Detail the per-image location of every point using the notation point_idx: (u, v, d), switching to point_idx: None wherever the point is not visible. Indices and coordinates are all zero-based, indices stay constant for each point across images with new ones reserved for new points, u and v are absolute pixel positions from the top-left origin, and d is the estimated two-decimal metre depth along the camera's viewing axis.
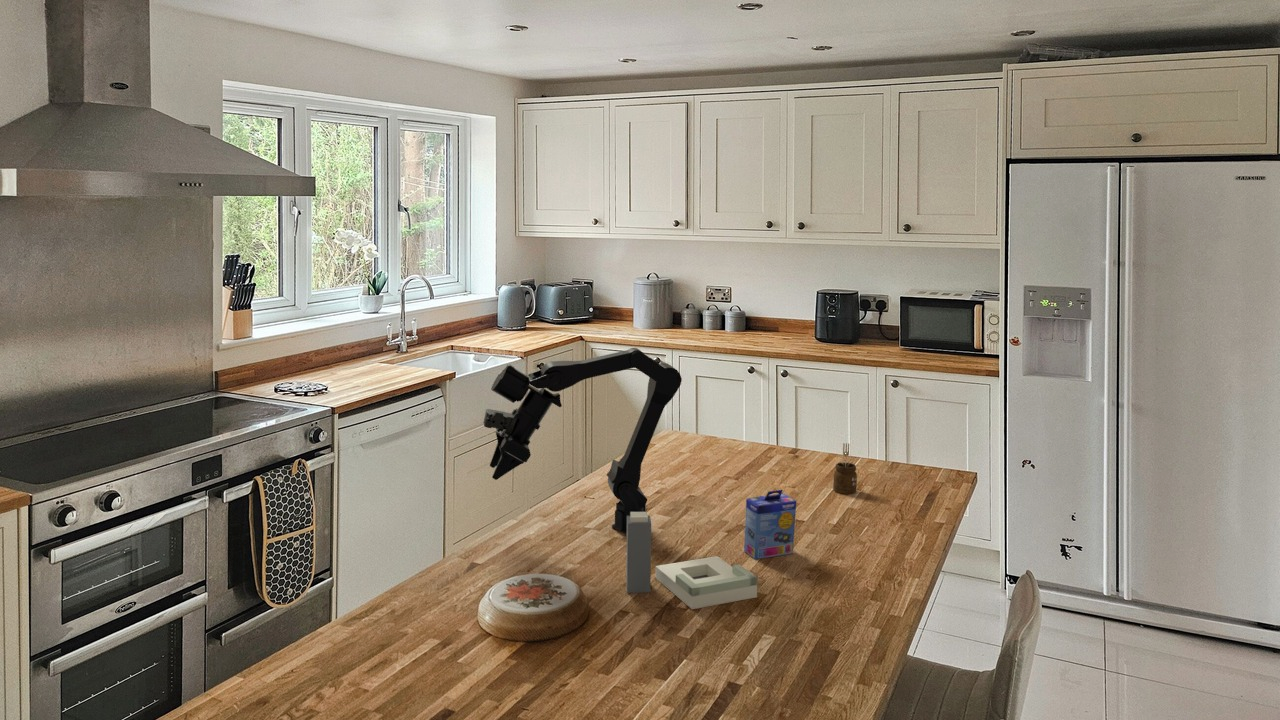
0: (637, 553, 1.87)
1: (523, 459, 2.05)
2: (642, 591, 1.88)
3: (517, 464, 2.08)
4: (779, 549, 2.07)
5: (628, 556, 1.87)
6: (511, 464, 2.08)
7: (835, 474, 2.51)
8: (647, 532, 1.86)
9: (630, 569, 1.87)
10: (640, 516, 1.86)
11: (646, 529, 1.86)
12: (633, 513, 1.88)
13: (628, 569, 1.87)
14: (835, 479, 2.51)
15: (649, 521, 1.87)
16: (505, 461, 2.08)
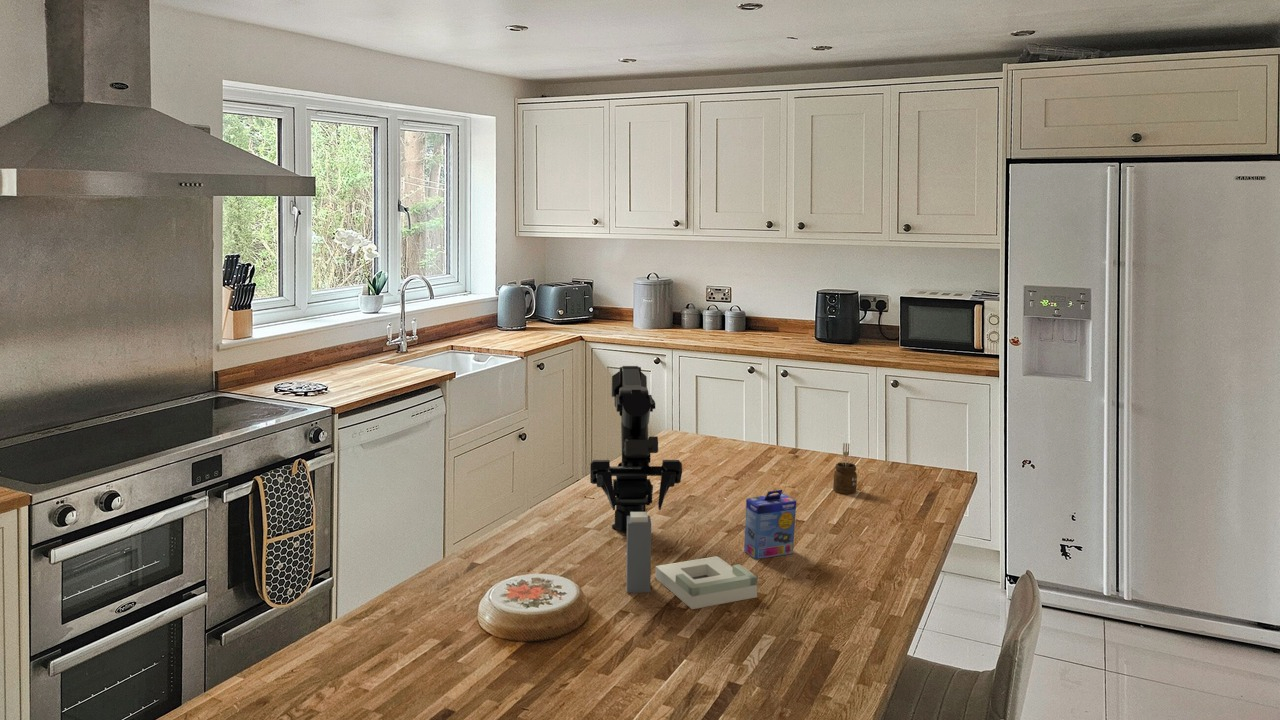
0: (637, 553, 1.87)
1: None
2: (642, 591, 1.88)
3: (667, 489, 2.00)
4: (779, 549, 2.07)
5: (628, 556, 1.87)
6: (665, 490, 1.99)
7: (835, 474, 2.51)
8: (647, 532, 1.86)
9: (630, 569, 1.87)
10: (640, 516, 1.86)
11: (646, 529, 1.86)
12: (633, 513, 1.88)
13: (628, 569, 1.87)
14: (835, 479, 2.51)
15: (649, 521, 1.87)
16: None
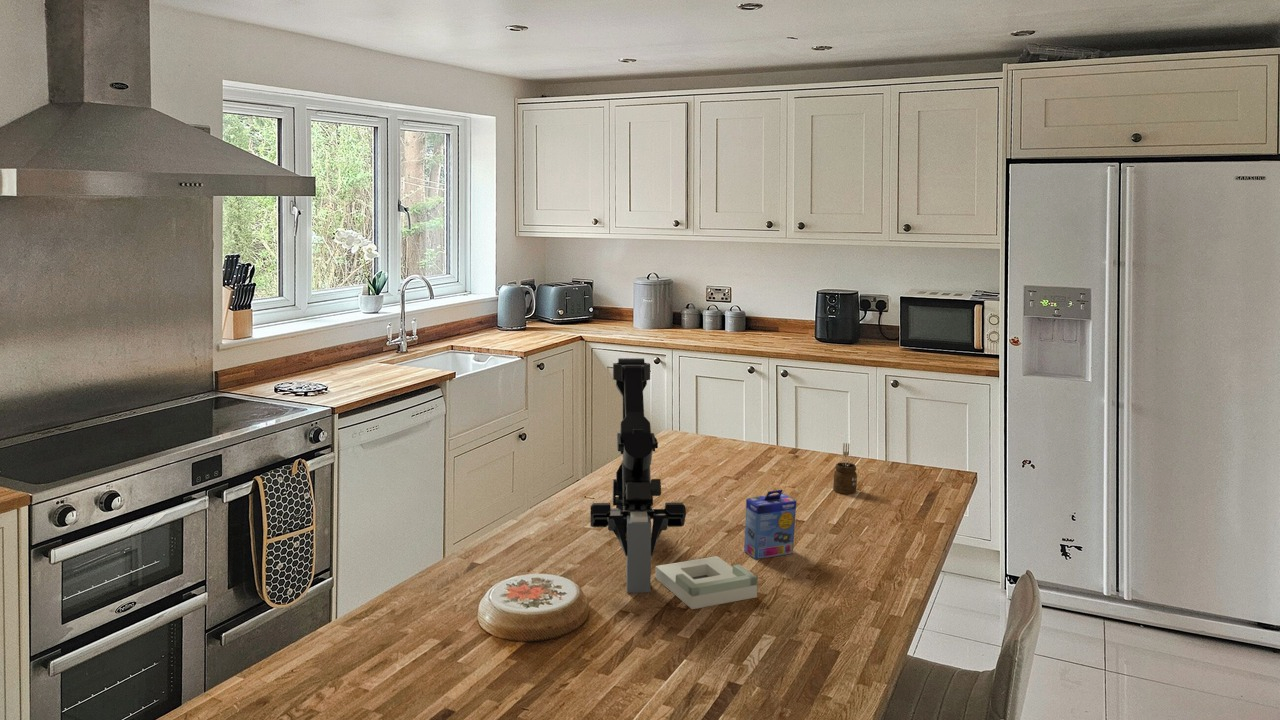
0: (637, 553, 1.87)
1: (683, 522, 1.94)
2: (642, 591, 1.88)
3: (659, 532, 1.93)
4: (779, 549, 2.07)
5: (628, 556, 1.87)
6: (657, 534, 1.91)
7: (835, 474, 2.51)
8: (647, 532, 1.86)
9: (630, 569, 1.87)
10: (640, 516, 1.86)
11: (646, 528, 1.86)
12: (633, 513, 1.88)
13: (628, 569, 1.87)
14: (835, 479, 2.51)
15: (649, 521, 1.87)
16: None
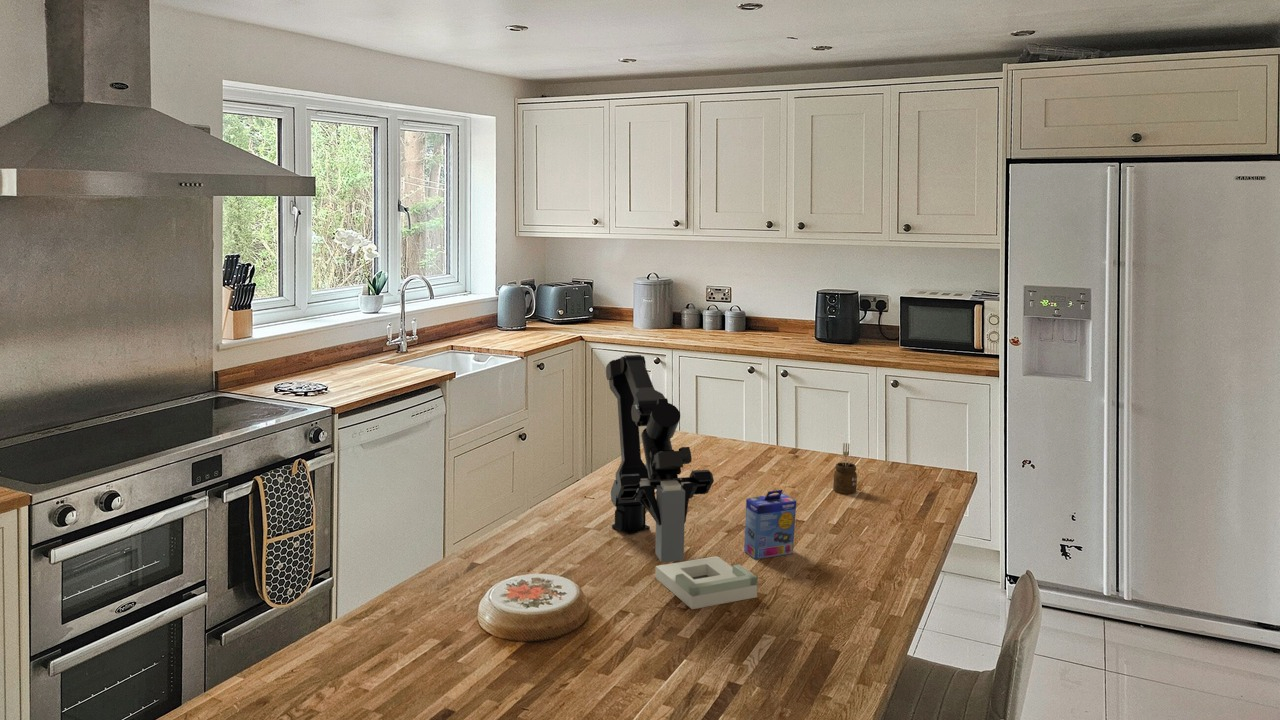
0: (671, 522, 1.86)
1: None
2: (676, 560, 1.88)
3: None
4: (779, 549, 2.07)
5: (662, 525, 1.86)
6: None
7: (835, 474, 2.51)
8: (681, 500, 1.86)
9: (664, 538, 1.86)
10: (673, 484, 1.86)
11: (680, 497, 1.86)
12: (664, 482, 1.87)
13: (662, 538, 1.86)
14: (835, 479, 2.51)
15: (682, 489, 1.87)
16: None
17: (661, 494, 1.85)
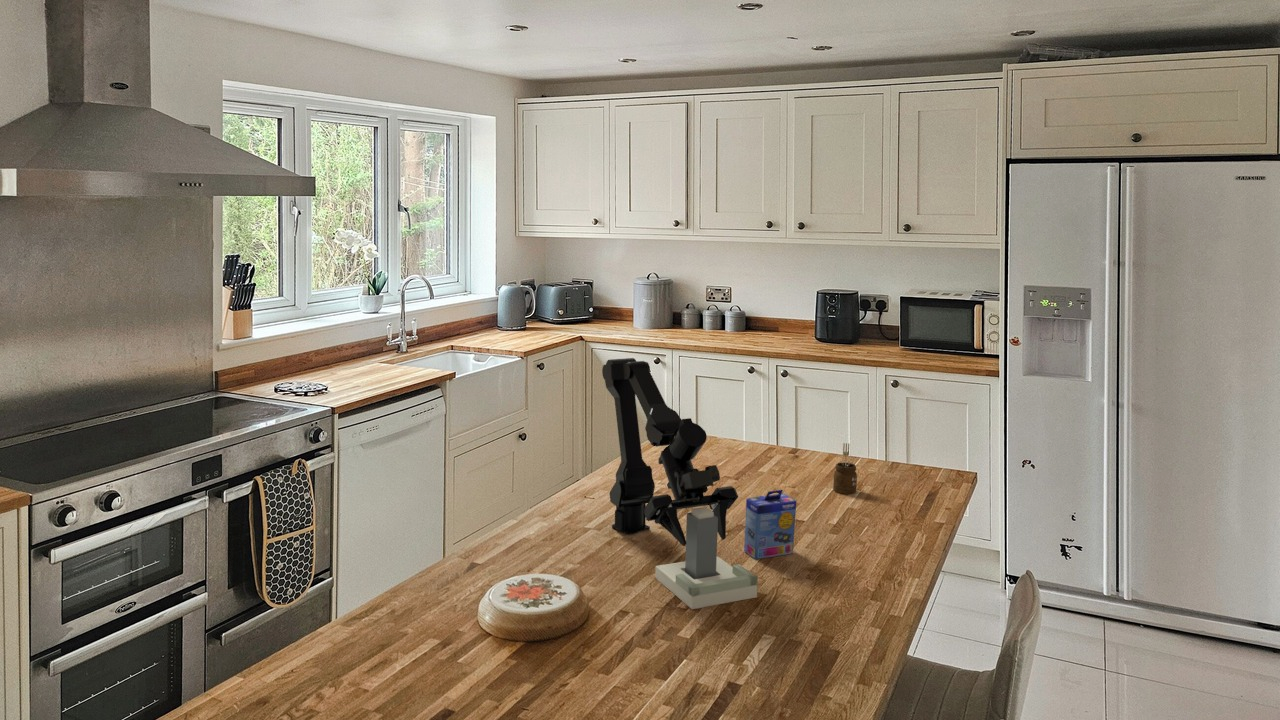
0: (705, 549, 1.89)
1: None
2: None
3: None
4: (779, 549, 2.07)
5: (697, 553, 1.88)
6: None
7: (835, 474, 2.51)
8: (714, 527, 1.89)
9: (698, 565, 1.89)
10: (706, 512, 1.89)
11: (713, 523, 1.88)
12: (696, 510, 1.90)
13: (696, 565, 1.89)
14: (835, 479, 2.51)
15: (714, 516, 1.89)
16: None
17: (695, 522, 1.87)
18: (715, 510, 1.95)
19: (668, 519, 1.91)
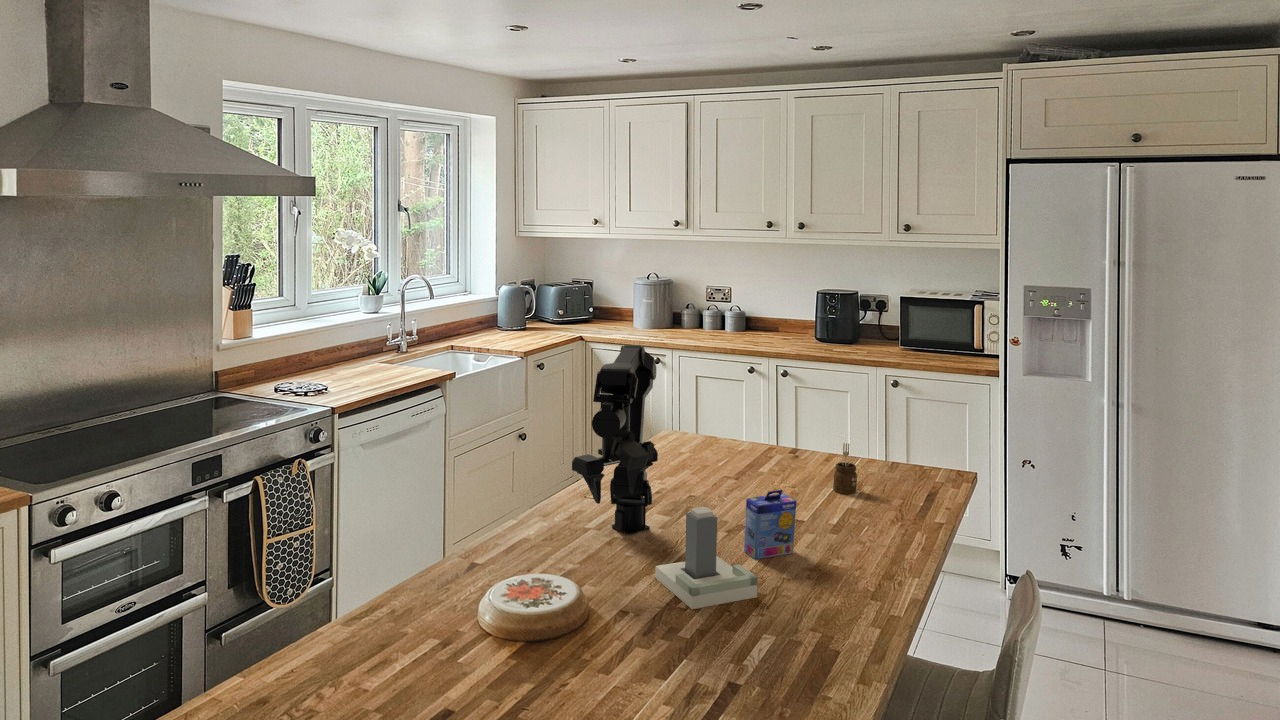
0: (704, 548, 1.89)
1: None
2: None
3: None
4: (779, 549, 2.07)
5: (696, 552, 1.88)
6: None
7: (835, 474, 2.51)
8: (714, 526, 1.89)
9: (698, 565, 1.89)
10: (705, 511, 1.89)
11: (712, 523, 1.89)
12: (695, 509, 1.90)
13: (696, 565, 1.89)
14: (835, 479, 2.51)
15: (713, 515, 1.90)
16: None
17: (695, 522, 1.88)
18: None
19: None
